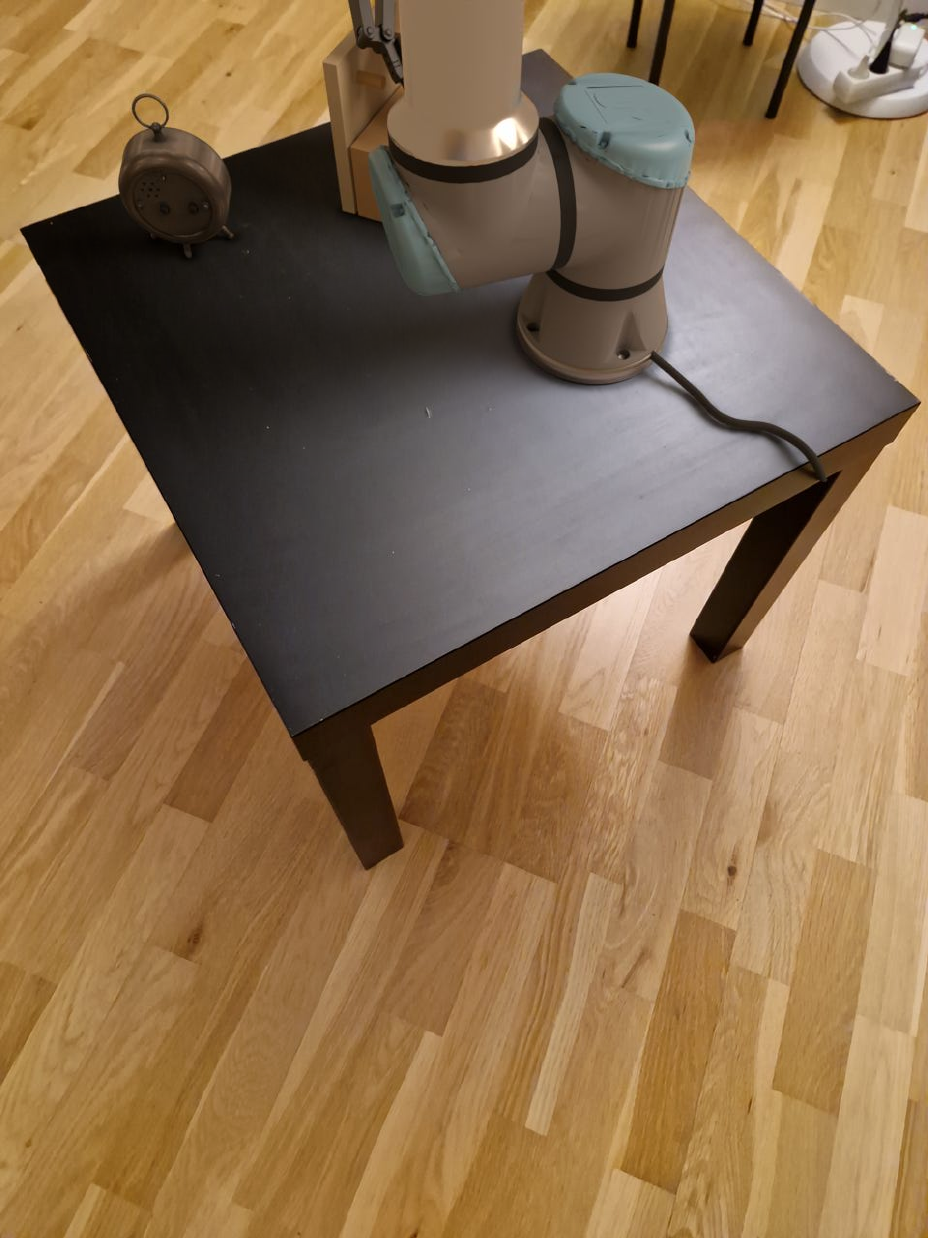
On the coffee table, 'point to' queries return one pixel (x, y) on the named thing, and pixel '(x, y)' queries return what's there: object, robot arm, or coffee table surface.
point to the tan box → (359, 116)
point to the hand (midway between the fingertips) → (466, 94)
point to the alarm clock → (174, 183)
